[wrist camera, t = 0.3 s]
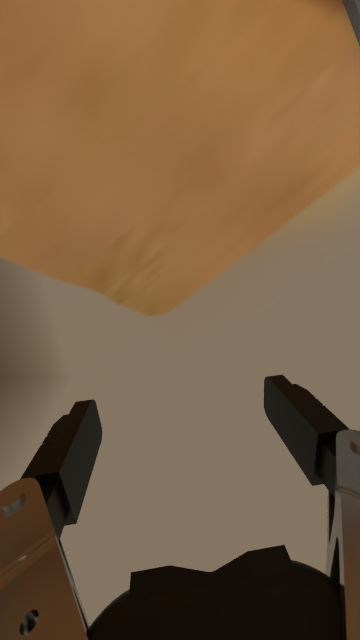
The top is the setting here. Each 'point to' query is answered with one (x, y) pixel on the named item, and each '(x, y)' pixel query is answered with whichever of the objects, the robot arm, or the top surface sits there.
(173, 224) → the top surface
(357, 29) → the base board
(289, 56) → the top surface
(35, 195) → the top surface
